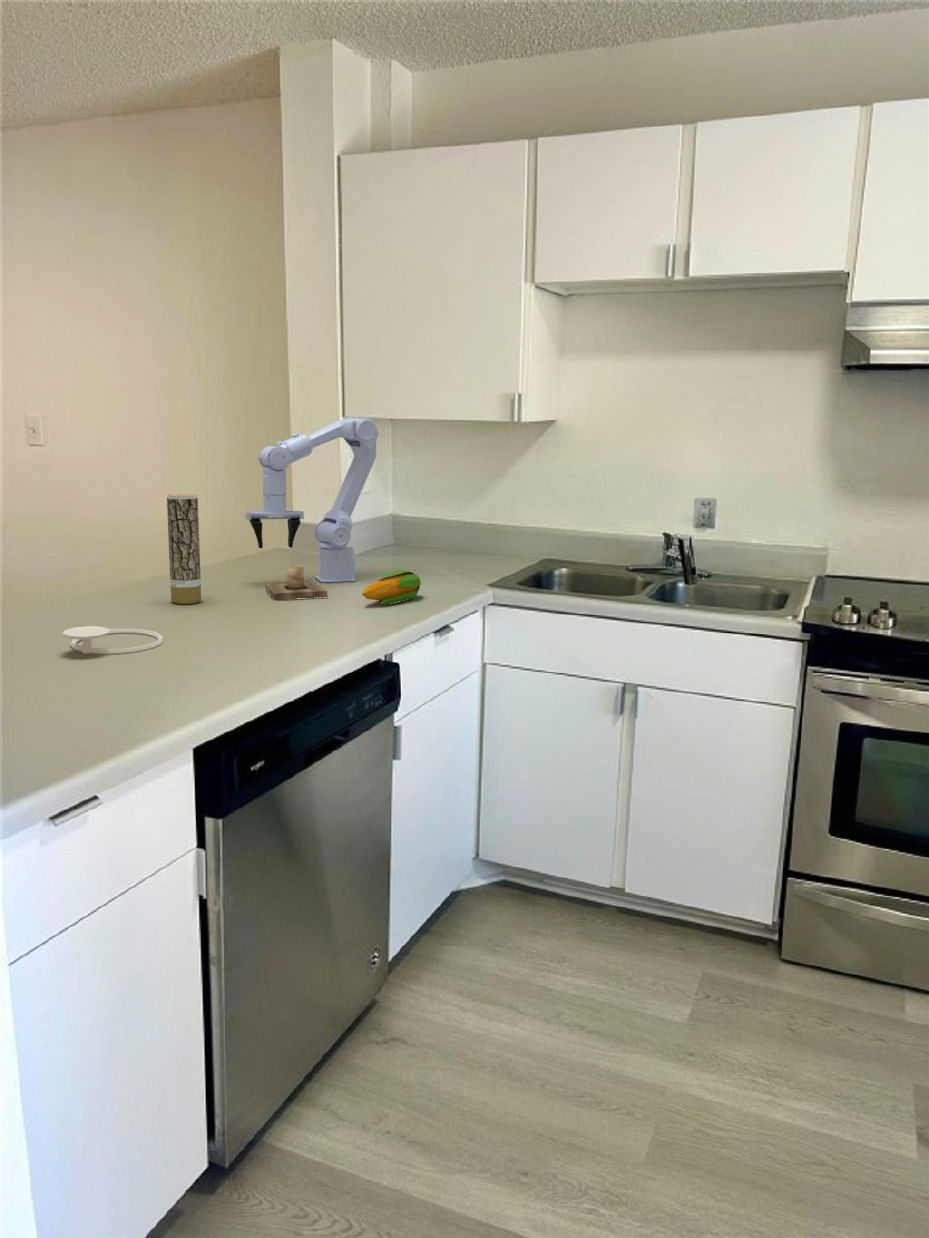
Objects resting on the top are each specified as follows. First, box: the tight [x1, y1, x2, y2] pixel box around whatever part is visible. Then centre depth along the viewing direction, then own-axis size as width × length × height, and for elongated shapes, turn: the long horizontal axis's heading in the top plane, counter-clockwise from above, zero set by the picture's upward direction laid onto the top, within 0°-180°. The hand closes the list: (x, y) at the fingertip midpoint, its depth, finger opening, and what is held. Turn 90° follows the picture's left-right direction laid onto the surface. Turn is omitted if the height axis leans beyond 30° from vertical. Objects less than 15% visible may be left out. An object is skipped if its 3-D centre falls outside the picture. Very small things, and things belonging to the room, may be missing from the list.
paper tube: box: [166, 493, 202, 605], centre depth 212 cm, size 7×7×25 cm
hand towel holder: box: [62, 625, 164, 655], centre depth 176 cm, size 17×4×20 cm
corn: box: [362, 569, 422, 605], centre depth 222 cm, size 7×8×20 cm
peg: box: [286, 564, 305, 590], centre depth 227 cm, size 4×4×7 cm
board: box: [264, 581, 328, 601], centre depth 227 cm, size 13×12×2 cm
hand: (275, 547), depth 236 cm, fingers open, 7 cm apart
